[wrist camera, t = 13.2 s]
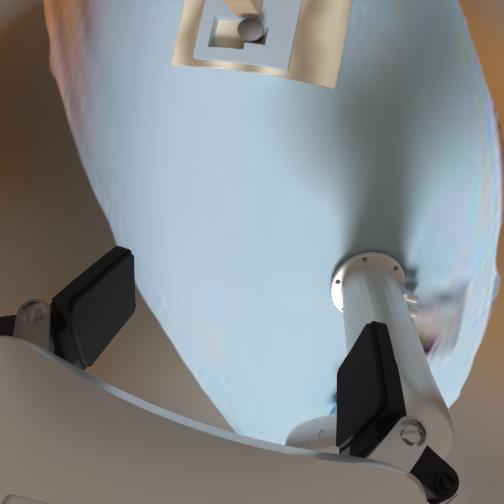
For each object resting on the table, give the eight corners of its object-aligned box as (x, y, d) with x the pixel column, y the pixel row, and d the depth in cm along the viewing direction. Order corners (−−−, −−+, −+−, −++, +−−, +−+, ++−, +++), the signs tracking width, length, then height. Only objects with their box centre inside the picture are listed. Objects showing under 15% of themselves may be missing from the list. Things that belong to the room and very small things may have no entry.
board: (354, -19, 23) (360, -35, 18) (334, 89, 32) (339, 85, 27) (199, -35, 24) (185, -50, 19) (175, 65, 33) (156, 61, 28)
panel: (308, -27, 23) (308, -54, 16) (288, 71, 31) (283, 60, 24) (220, -34, 23) (202, -58, 16) (198, 59, 31) (172, 50, 24)
